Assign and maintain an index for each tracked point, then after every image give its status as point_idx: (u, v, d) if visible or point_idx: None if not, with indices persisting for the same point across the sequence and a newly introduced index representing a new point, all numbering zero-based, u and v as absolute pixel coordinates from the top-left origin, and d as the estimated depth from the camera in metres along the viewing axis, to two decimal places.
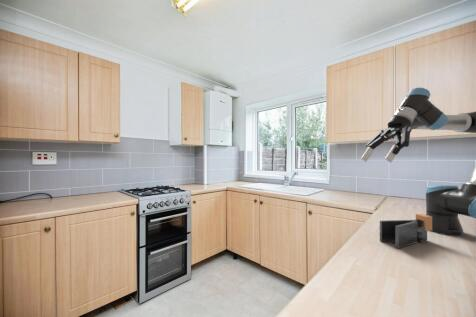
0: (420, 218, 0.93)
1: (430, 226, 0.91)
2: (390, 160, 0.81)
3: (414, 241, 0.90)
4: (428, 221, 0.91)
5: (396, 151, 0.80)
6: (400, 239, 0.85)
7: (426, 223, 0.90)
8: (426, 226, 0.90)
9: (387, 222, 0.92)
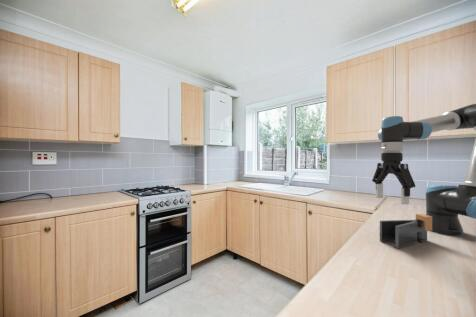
0: (420, 218, 0.93)
1: (430, 226, 0.91)
2: (407, 203, 0.85)
3: (414, 241, 0.90)
4: (428, 221, 0.91)
5: (407, 194, 0.83)
6: (400, 239, 0.85)
7: (426, 223, 0.90)
8: (426, 226, 0.90)
9: (387, 222, 0.92)
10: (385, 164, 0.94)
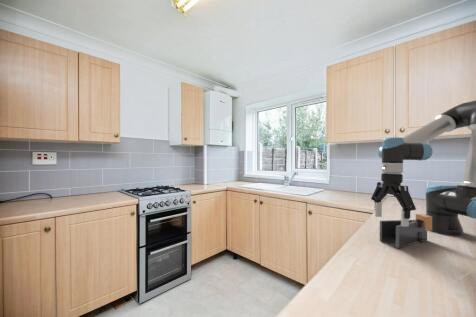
0: (420, 218, 0.93)
1: (430, 226, 0.91)
2: (407, 225, 0.84)
3: (414, 241, 0.90)
4: (428, 221, 0.91)
5: (408, 217, 0.83)
6: (401, 239, 0.85)
7: (426, 223, 0.90)
8: (426, 226, 0.90)
9: (387, 222, 0.92)
10: (385, 184, 0.94)
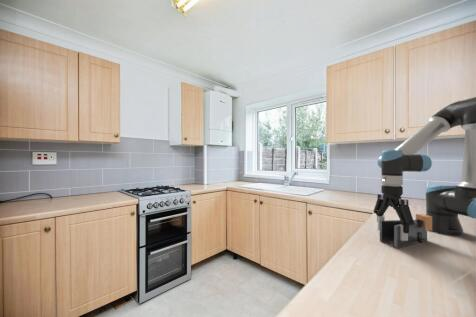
0: (420, 218, 0.93)
1: (430, 226, 0.91)
2: (406, 239, 0.85)
3: (414, 241, 0.90)
4: (428, 221, 0.91)
5: (406, 231, 0.84)
6: (399, 238, 0.85)
7: (426, 223, 0.90)
8: (426, 226, 0.90)
9: (387, 222, 0.92)
10: (385, 196, 0.93)
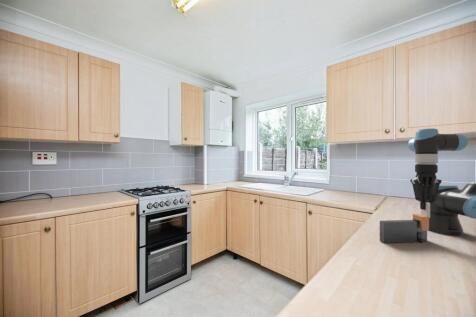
0: (417, 218, 0.93)
1: (427, 226, 0.91)
2: None
3: (411, 240, 0.91)
4: (425, 221, 0.90)
5: (421, 207, 0.93)
6: (387, 234, 0.90)
7: (423, 223, 0.90)
8: (423, 226, 0.90)
9: None
10: None
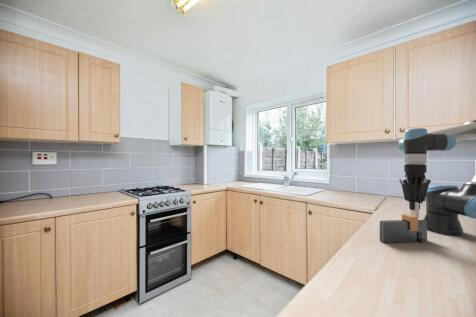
0: (406, 218, 0.92)
1: (416, 226, 0.90)
2: None
3: (411, 240, 0.91)
4: (414, 221, 0.90)
5: (410, 207, 0.93)
6: (387, 234, 0.90)
7: (412, 223, 0.90)
8: (412, 226, 0.90)
9: None
10: None
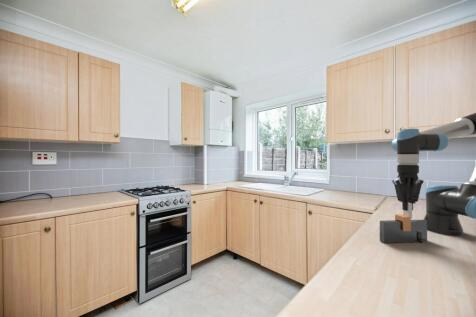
0: (399, 219, 0.92)
1: (409, 227, 0.90)
2: None
3: (411, 240, 0.91)
4: (406, 222, 0.90)
5: (403, 208, 0.92)
6: (387, 234, 0.90)
7: (404, 224, 0.90)
8: (404, 227, 0.90)
9: None
10: None
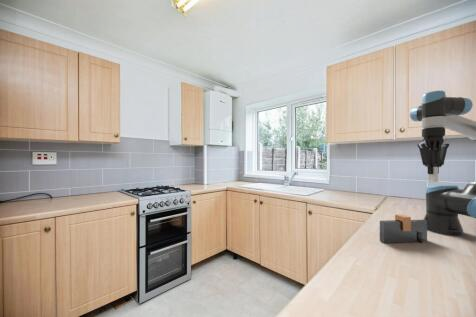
0: (399, 219, 0.92)
1: (409, 227, 0.90)
2: (433, 180, 0.91)
3: (411, 240, 0.91)
4: (406, 222, 0.90)
5: (428, 172, 0.91)
6: (387, 234, 0.90)
7: (404, 224, 0.90)
8: (404, 227, 0.90)
9: None
10: None
